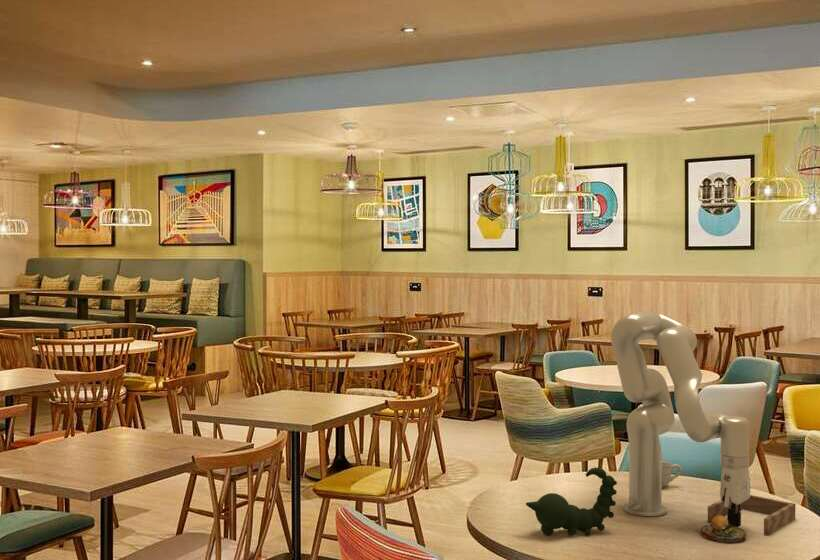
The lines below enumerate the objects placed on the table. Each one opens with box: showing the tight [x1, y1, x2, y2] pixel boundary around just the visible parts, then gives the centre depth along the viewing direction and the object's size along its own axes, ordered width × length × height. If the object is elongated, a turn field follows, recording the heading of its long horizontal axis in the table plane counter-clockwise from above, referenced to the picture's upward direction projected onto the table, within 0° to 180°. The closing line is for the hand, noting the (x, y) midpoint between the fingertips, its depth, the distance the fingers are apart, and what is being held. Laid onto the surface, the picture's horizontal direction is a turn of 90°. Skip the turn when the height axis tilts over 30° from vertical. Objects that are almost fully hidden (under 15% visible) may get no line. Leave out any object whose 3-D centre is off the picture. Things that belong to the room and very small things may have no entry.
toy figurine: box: [525, 467, 618, 537], centre depth 237 cm, size 10×19×26 cm
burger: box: [699, 514, 747, 545], centre depth 234 cm, size 12×12×8 cm
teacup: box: [662, 460, 683, 488], centre depth 285 cm, size 14×11×8 cm
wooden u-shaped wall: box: [707, 494, 796, 536], centre depth 248 cm, size 20×17×4 cm
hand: (734, 525), depth 239 cm, fingers closed
